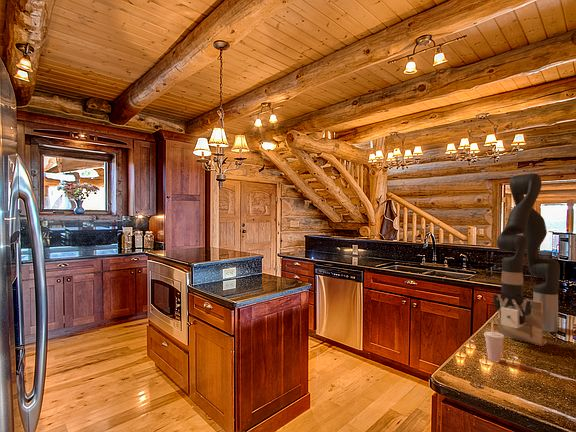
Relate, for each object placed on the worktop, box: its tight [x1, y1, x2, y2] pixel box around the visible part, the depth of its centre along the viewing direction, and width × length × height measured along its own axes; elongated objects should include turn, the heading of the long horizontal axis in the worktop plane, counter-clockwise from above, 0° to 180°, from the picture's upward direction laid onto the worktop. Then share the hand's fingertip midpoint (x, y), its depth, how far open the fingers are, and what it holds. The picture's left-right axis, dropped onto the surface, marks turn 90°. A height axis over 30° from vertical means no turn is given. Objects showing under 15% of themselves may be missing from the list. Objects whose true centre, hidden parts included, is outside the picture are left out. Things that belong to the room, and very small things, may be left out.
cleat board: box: [497, 298, 548, 347], centre depth 140 cm, size 8×16×18 cm, turn 34°
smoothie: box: [484, 321, 505, 362], centre depth 120 cm, size 6×6×14 cm
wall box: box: [501, 306, 524, 328], centre depth 136 cm, size 9×6×7 cm
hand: (512, 322), depth 135 cm, fingers closed on wall box, 6 cm apart
